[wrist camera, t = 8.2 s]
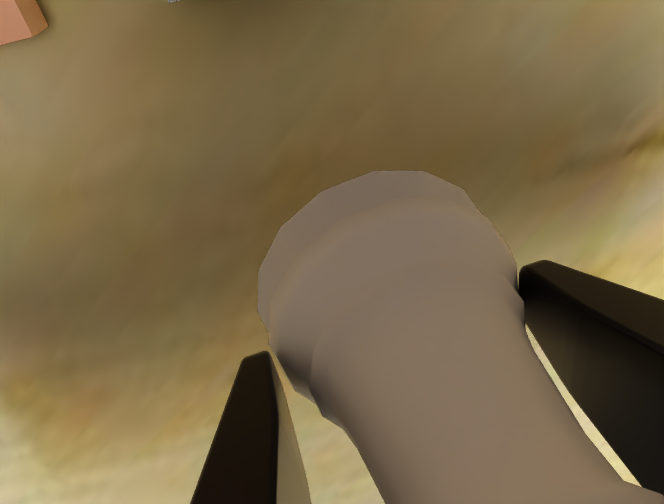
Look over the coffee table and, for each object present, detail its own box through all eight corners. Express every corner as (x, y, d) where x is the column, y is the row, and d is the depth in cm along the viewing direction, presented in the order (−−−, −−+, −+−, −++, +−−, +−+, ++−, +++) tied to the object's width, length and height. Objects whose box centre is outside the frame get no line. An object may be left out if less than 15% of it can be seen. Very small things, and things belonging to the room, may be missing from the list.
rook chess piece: (516, 181, 9) (1364, 804, 3) (426, 359, 11) (769, 956, 5) (286, 132, 7) (991, 1468, 1) (230, 350, 9) (333, 1249, 3)
